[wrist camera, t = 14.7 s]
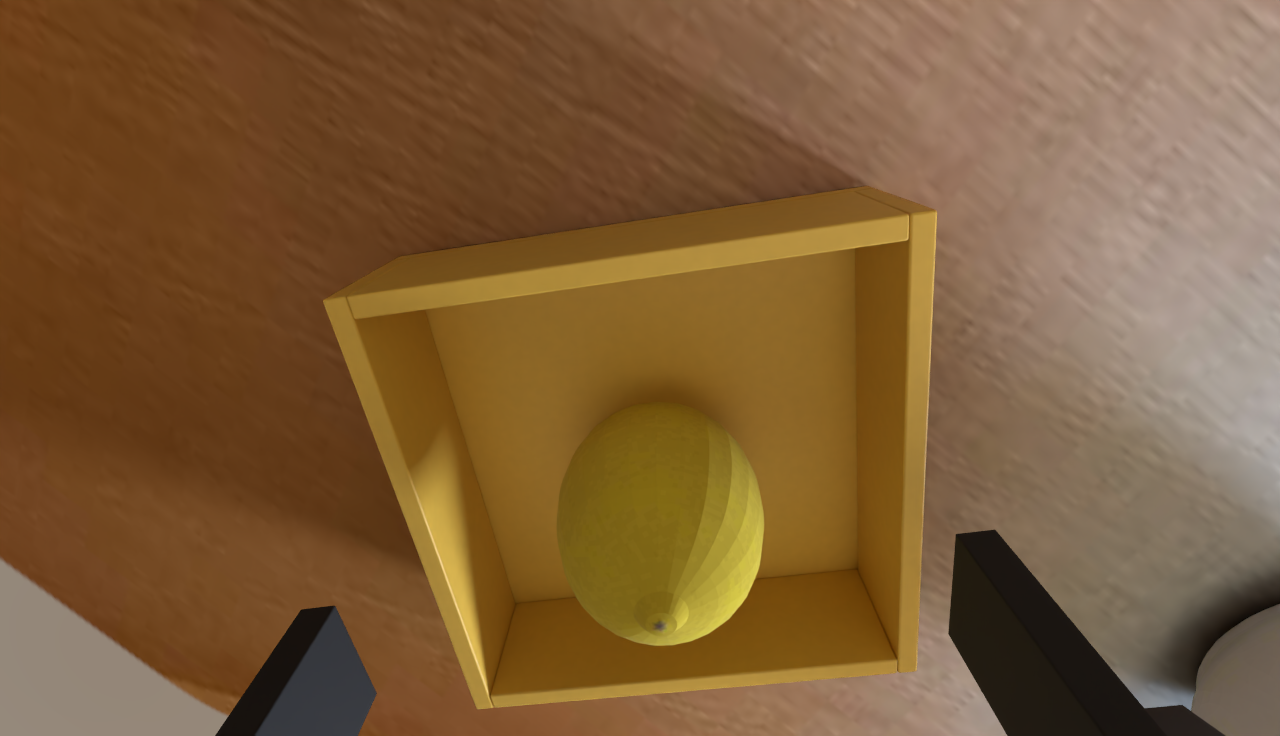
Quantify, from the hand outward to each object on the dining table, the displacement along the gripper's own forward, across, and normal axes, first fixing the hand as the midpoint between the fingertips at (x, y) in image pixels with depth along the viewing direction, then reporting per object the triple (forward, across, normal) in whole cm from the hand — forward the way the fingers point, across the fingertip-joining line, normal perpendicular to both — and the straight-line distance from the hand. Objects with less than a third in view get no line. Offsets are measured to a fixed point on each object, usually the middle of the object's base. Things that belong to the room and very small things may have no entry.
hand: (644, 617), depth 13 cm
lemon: (+8, 0, 0) cm, 8 cm away
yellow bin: (+8, 0, 0) cm, 8 cm away
